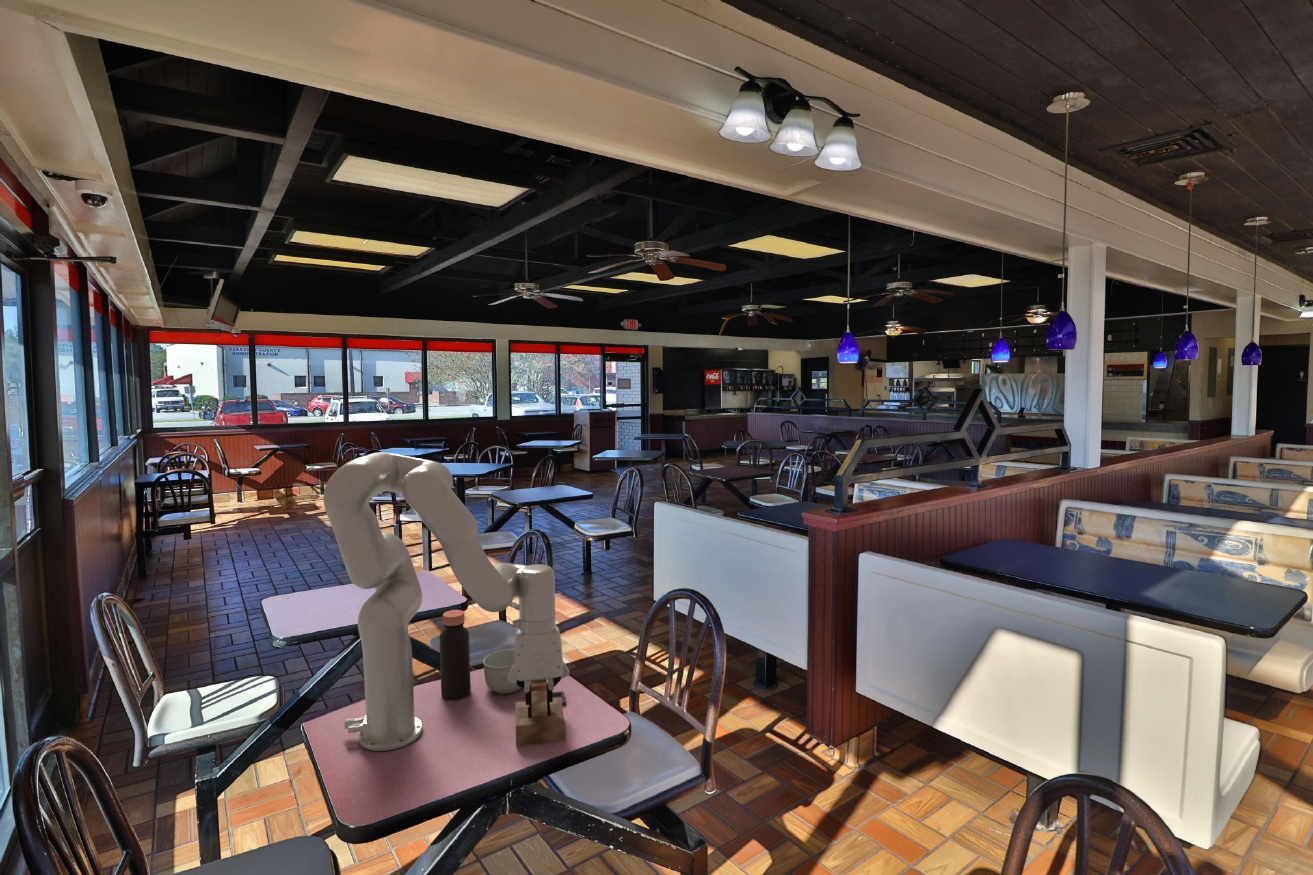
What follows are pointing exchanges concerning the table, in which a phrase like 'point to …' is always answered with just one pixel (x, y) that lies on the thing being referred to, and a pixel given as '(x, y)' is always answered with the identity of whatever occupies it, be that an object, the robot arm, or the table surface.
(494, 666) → the teacup
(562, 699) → the dark gray angular bracket
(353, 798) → the table surface
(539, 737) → the wooden square socket block
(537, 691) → the red striped block
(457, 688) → the bottle
